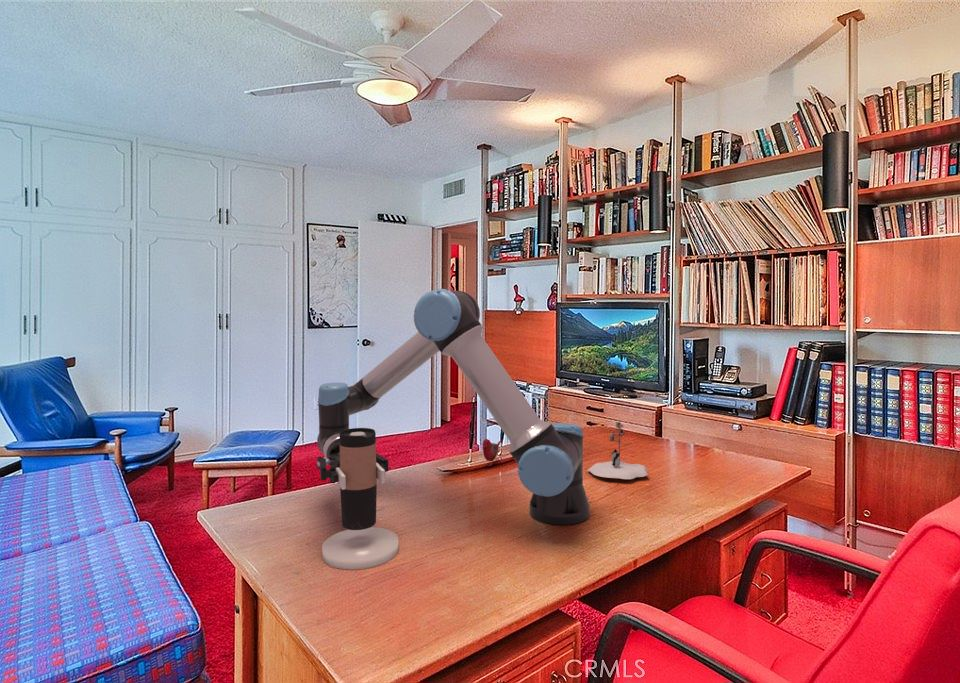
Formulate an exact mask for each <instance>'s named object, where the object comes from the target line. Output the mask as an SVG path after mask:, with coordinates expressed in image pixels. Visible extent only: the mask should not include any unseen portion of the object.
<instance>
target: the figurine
mask: <svg viewBox="0 0 960 683" xmlns="http://www.w3.org/2000/svg"><path fill="white" fill-rule="evenodd" d="M615 428H616V429H617V430H618V434H616V432H615V431H611V434H609V442H616V443H618V450H617V449H616V448H615V449H613V451H612V452H611V453H610V455H609V456H608V457H609V458H610V456H611V459H610V461H606V462H605V461H604V462H596V463H595V464H593V465H592V466H591V467H589V468H588V469H587V472H590V473H591V474H592V475H593V476H597V477H601V478H609V479H621V480H634V479H635V478H644V477H646V476H649V471H648V468H647V467H646V466H645V465H643V464H639V463H634V464H632V463H628V462H625V461H622V460H621V456H620V455H621V453H620V452H621V445H627V446H628V445H632V442H631V441H628V443H627V442H621V437H624V436H626V433H627V430H625V431H624V430H623V428H624V424H621V422H620V421H615ZM616 438H618V440H615V439H616Z"/></svg>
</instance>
